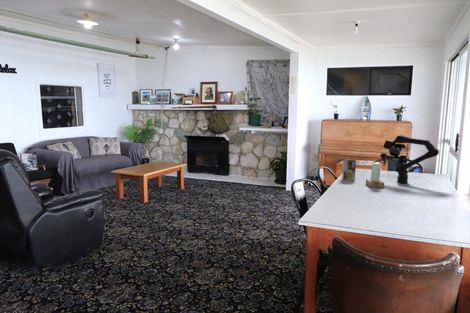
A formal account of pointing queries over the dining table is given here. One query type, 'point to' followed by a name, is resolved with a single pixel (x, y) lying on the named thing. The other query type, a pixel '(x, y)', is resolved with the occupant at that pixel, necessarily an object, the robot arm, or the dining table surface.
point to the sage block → (375, 172)
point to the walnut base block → (374, 184)
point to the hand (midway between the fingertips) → (389, 166)
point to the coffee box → (348, 169)
